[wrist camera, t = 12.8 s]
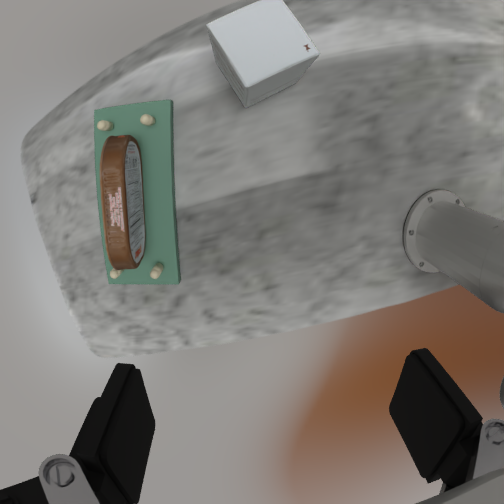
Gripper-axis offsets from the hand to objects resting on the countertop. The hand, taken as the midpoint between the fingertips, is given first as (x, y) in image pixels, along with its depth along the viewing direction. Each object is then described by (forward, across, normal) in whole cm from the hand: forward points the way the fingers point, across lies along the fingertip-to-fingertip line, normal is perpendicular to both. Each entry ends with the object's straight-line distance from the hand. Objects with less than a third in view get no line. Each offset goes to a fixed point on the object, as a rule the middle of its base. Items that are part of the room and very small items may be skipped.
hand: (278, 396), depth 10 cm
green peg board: (+30, +14, -3) cm, 34 cm away
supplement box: (+31, -1, -18) cm, 35 cm away
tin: (+29, +14, -3) cm, 32 cm away
